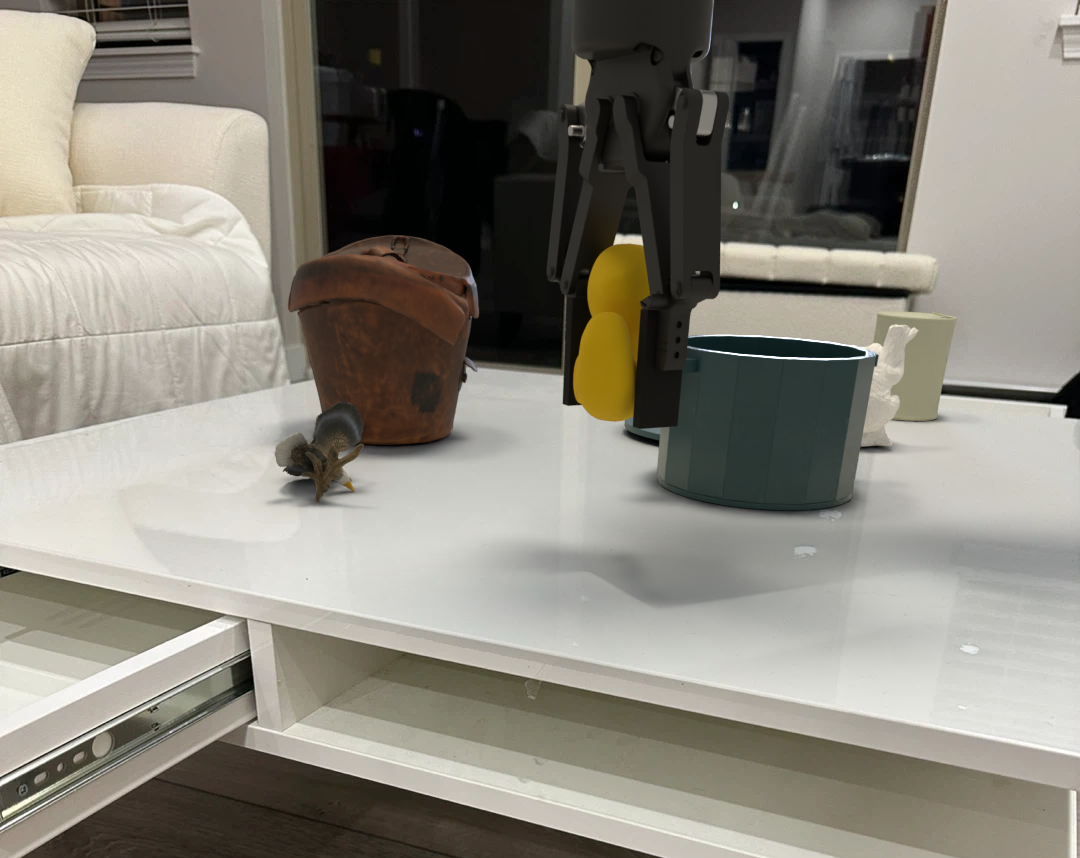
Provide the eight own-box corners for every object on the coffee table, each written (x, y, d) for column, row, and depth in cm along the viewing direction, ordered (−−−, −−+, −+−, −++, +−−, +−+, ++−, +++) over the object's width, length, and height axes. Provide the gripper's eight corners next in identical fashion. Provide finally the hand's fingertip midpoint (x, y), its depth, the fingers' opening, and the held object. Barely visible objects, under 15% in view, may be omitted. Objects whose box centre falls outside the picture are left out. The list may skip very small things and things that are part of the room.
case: (344, 461, 93) (336, 238, 85) (268, 421, 108) (255, 229, 100) (517, 447, 102) (524, 244, 94) (424, 412, 117) (424, 235, 109)
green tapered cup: (935, 423, 125) (957, 316, 119) (856, 415, 127) (874, 310, 122) (938, 412, 132) (959, 311, 127) (863, 405, 135) (880, 305, 130)
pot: (916, 498, 90) (945, 356, 85) (709, 521, 80) (727, 362, 75) (788, 458, 103) (805, 333, 98) (595, 473, 93) (604, 336, 88)
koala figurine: (879, 437, 115) (900, 320, 110) (920, 450, 109) (944, 328, 104) (814, 440, 112) (832, 320, 107) (852, 453, 106) (873, 327, 101)
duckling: (594, 400, 72) (602, 240, 67) (672, 406, 71) (686, 243, 66) (550, 429, 62) (557, 243, 58) (640, 437, 61) (654, 247, 56)
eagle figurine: (393, 487, 80) (384, 442, 87) (338, 410, 76) (334, 369, 83) (310, 538, 81) (308, 489, 88) (252, 465, 77) (255, 420, 84)
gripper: (495, -9, 62) (490, 392, 72) (703, -78, 46) (661, 451, 56) (603, 6, 65) (585, 387, 75) (833, -54, 49) (771, 441, 59)
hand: (617, 414), depth 65 cm, fingers closed on duckling, 8 cm apart
